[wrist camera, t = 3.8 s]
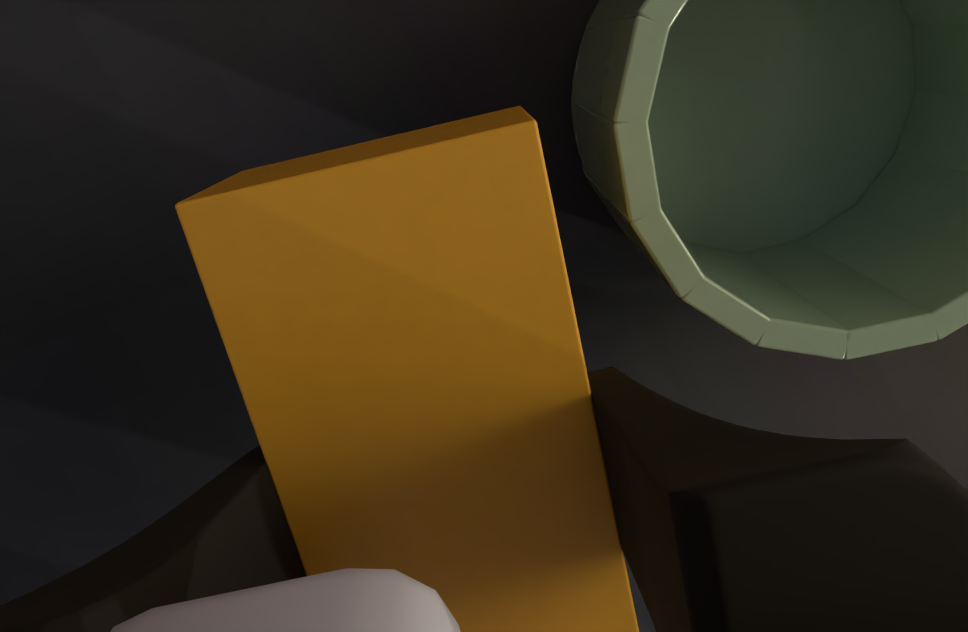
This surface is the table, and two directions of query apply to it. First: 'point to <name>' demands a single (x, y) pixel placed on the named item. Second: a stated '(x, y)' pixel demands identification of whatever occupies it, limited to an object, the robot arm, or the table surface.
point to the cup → (788, 161)
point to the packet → (421, 369)
